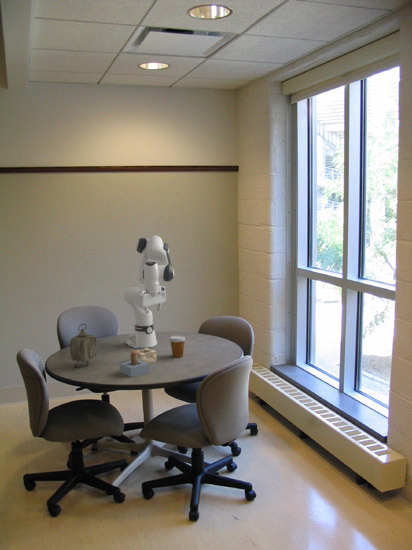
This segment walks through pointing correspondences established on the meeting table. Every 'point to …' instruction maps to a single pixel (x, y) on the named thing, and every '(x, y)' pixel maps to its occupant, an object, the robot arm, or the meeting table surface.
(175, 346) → the disposable coffee cup
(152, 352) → the mount
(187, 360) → the meeting table surface
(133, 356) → the pin
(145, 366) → the socket
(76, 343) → the tabletop clock
